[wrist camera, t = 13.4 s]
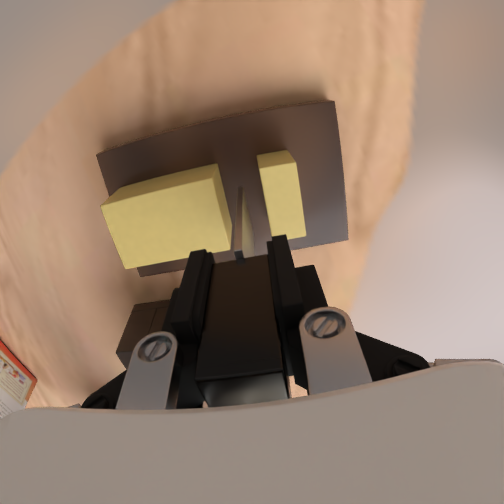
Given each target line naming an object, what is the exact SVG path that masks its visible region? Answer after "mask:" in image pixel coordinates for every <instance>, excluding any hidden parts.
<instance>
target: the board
mask: <svg viewBox="0 0 504 504" xmlns="http://www.w3.org/2000/svg"><path fill="white" fill-rule="evenodd" d="M283 150H288V152H289V153H290V155H291V156H292V157H293V159H294V160H295V162H296V165H297V172H298V179H299V185H300V192H301V199H302V206H303V214H304V221H305V229H306V236H305V237H299V238H293V239H288V243H289V247H290V251H291V250H296V249H302V248H307V247H313V246H318V245H324V244H329V243H335V242H340V241H345V240H348V223H347V208H346V195H345V184H344V173H343V163H342V154H341V146H340V137H339V129H338V122H337V115H336V108H335V102H334V101H332V100H323V101H314V102H306V103H299V104H292V105H285V106H278V107H272V108H266V109H260V110H255V111H249V112H244V113H239V114H234V115H229V116H224V117H220V118H215V119H211V120H207V121H202V122H198V123H194V124H190V125H186V126H182V127H178V128H174V129H171V130H167V131H163V132H160V133H156V134H153V135H150V136H146V137H143V138H140V139H136V140H133V141H130V142H127V143H124V144H121V145H118V146H115V147H112V148H109V149H106V150H104V151H102V152H100V153H98V154H96V156H97V159H98V163H99V166H100V169H101V172H102V175H103V178H104V181H105V184H106V187H107V190H108V193H109V196H111V195H112V194H114V193H115V192H116V191H117V190H118V189H119V188H120V187H124V186H127V185H131V184H134V183H138V182H142V181H145V180H149V179H153V178H157V177H161V176H165V175H169V174H173V173H177V172H181V171H185V170H189V169H193V168H198V167H202V166H207V165H211V164H218V168H219V172H220V176H221V180H222V185H223V189H224V193H225V197H226V202H227V206H228V210H229V214H230V218H231V222H232V234H231V247H230V250H227V251H221V252H216V253H213V256H214V260H215V263H219V262H224V261H230V260H236V258H235V254H234V239H235V223H236V208H237V193H238V187H243V188H244V192H245V197H246V202H247V206H248V211H249V216H250V220H251V225H252V230H253V234H254V249H255V256H258V255H264V254H268V252H267V244H266V242H267V241H272V235H271V230H270V224H269V219H268V214H267V208H266V203H265V198H264V193H263V187H262V182H261V177H260V172H259V167H258V161H257V155H261V154H266V153H272V152H278V151H283ZM187 261H188V258H183V259H178V260H172V261H167V262H162V263H156V264H151V265H145V266H140V267H137V270H138V272H139V275H140V277H144V276H150V275H156V274H161V273H167V272H173V271H179V270H184V269H185V268H186V264H187Z"/></svg>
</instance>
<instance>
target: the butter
mask: <svg viewBox="0 0 504 504" xmlns="http://www.w3.org/2000/svg"><path fill="white" fill-rule="evenodd" d="M100 207H101V210H102V213H103V215H104V218H105V221H106V223H107V226H108V228H109V231H110V234H111V236H112V239H113V241H114V244H115V246H116V249H117V251H118V253H119V256H120V258H121V261H122V263H123V265H124V268H125V269H129V268H135V267H140V266H145V265H151V264H156V263H162V262H167V261H172V260H178V259H183V258H189V254H190V252H191V251H196V250H201V249H206V250H207V252H212V253H216V252H221V251H227V250H230V247H231V234H232V222H231V218H230V214H229V210H228V206H227V202H226V197H225V193H224V189H223V185H222V180H221V176H220V172H219V168H218V164H211V165H207V166H202V167H198V168H193V169H189V170H185V171H181V172H177V173H173V174H169V175H165V176H161V177H157V178H153V179H149V180H145V181H142V182H138V183H134V184H131V185H127V186H124V187H120V188H119V189H118V190H117V191H116V192H115V193H114V194H112V195H111V196H110V197H109V198H108V199H107V200H106V201H105V202H104V203H103V204H102V205H101V206H100Z"/></svg>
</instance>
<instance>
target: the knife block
mask: <svg viewBox="0 0 504 504" xmlns="http://www.w3.org/2000/svg"><path fill="white" fill-rule="evenodd" d="M169 303H170V300H165V301H158V302H151V303H144V304H137V305H134V308H133V310H132V313H131V315H130V317H129V320H128V322H127V325H126V327H125V330H124V332H123V335H122V337H121V340H120V342H119V345H118V348H117V350H116V354H117V356H118V357H119V359H120V360H121V362H122V363H123V365H124V366H125V368H126V369H128V366H129V363H130V359H131V356H132V353H133V350H134V348H135V346H136V344H137V343H138V342H139V341H140V340H141V339H142V338H144V337H145V336H147V335H149V334H151V333H155V332H161V330H162V326H163V323H164V320H165V316H166V313H167V309H168V306H169ZM208 408H209V407H208Z"/></svg>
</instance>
